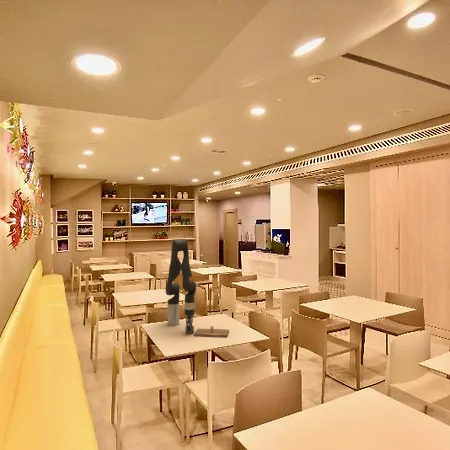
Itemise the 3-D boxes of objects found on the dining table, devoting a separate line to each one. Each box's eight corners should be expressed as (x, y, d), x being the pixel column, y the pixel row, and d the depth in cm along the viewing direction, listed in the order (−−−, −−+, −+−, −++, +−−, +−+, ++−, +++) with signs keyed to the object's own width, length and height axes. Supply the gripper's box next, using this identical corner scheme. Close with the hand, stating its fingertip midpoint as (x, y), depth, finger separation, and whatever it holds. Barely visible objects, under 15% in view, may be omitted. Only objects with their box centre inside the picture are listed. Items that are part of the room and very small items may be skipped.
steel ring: (186, 330, 272) (186, 325, 272) (194, 330, 272) (194, 325, 272) (184, 332, 266) (184, 327, 266) (192, 333, 266) (192, 327, 266)
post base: (197, 330, 275) (197, 323, 275) (229, 331, 272) (229, 324, 272) (194, 336, 261) (194, 328, 261) (226, 337, 258) (226, 329, 258)
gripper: (186, 305, 276) (186, 327, 277) (182, 310, 262) (182, 333, 262) (196, 305, 275) (196, 327, 276) (192, 310, 261) (192, 333, 261)
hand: (189, 330), depth 269 cm, fingers closed on steel ring, 6 cm apart
